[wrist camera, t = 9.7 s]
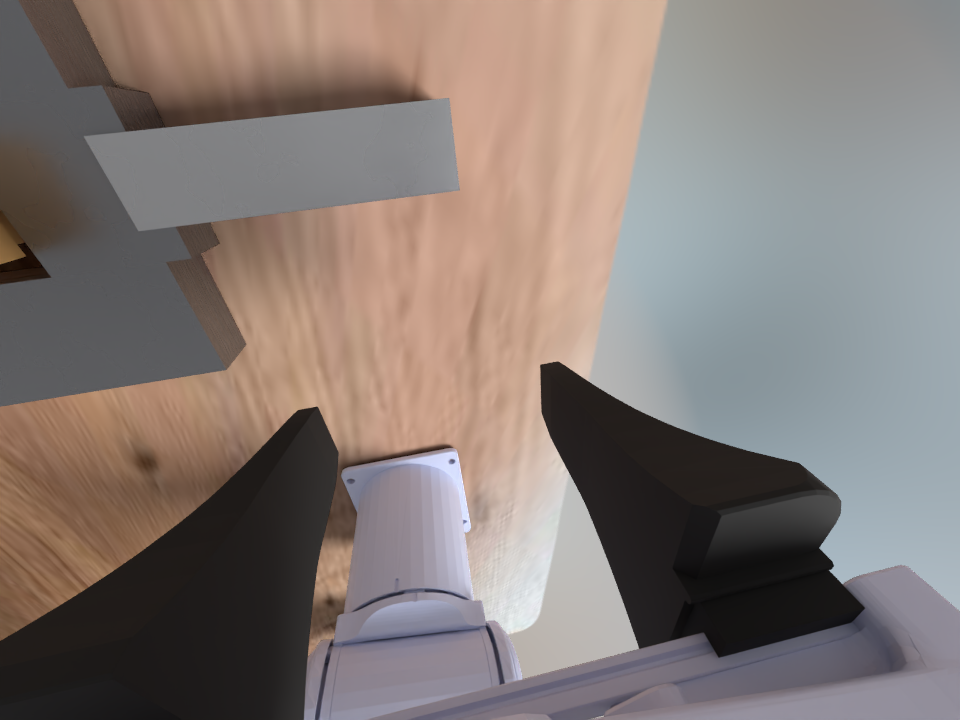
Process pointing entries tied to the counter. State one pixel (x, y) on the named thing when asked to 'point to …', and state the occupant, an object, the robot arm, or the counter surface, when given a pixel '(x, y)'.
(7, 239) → the wedge pin
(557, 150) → the counter surface
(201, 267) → the grey mounting plate
